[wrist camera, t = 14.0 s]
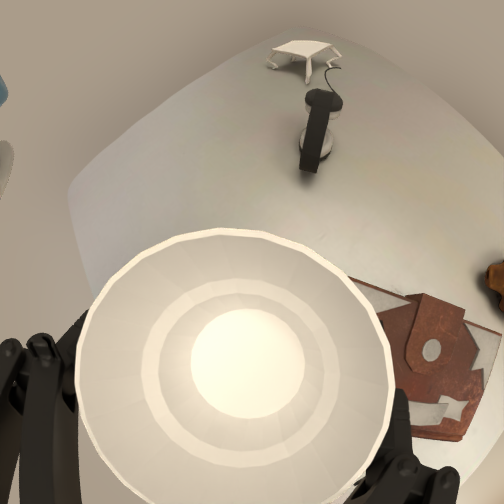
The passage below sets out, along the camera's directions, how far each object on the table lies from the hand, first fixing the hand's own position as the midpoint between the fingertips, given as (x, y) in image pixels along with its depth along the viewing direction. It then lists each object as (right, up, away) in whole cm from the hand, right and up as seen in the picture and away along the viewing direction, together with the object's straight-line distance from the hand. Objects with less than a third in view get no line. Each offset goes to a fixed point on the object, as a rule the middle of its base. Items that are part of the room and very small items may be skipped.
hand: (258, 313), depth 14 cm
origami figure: (+9, +34, +28) cm, 45 cm away
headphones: (+9, +20, +24) cm, 33 cm away
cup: (-1, -4, +3) cm, 5 cm away
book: (+18, -10, +16) cm, 26 cm away
